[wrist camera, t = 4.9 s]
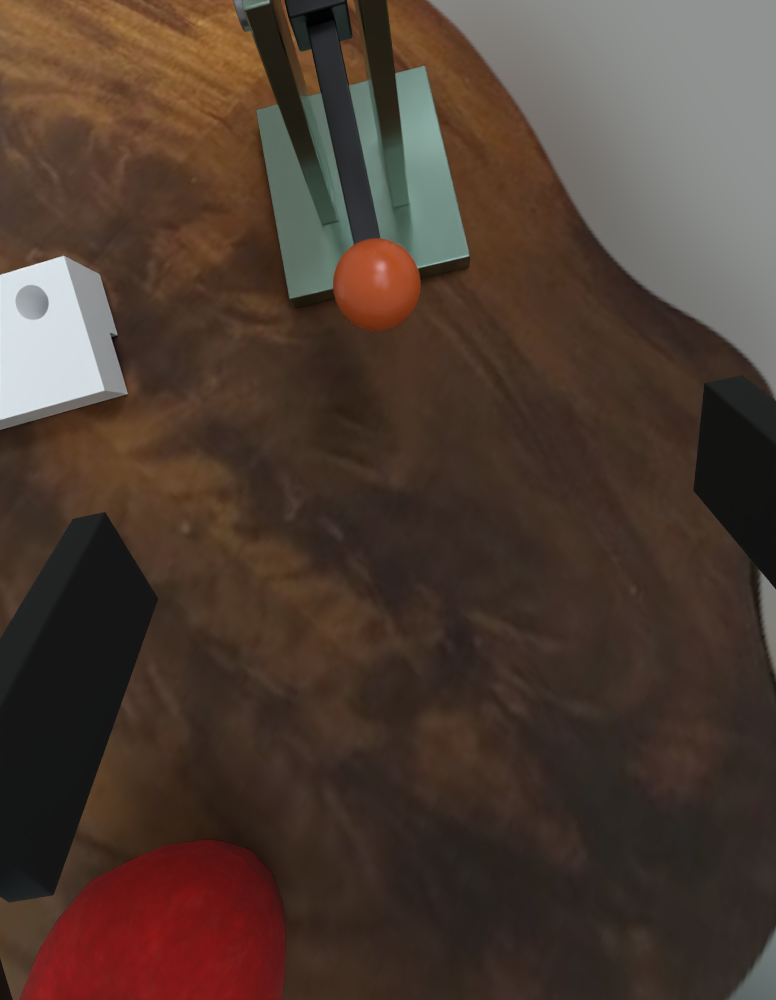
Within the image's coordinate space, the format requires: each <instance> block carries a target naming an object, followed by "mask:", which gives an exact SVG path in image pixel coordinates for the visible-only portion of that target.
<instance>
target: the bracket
mask: <svg viewBox="0 0 776 1000" xmlns="http://www.w3.org/2000/svg"><path fill="white" fill-rule="evenodd" d="M117 335H118V334H117V331H116V328H115V324H114V321H113V317H112V314H111V311H110V307H109V304H108V301H107V297H106V294H105V291H104V287H103V284H102V281H101V277H100V274H98V273H96V272H94V271H92V270H90V269H88V268H86V267H84V266H83V265H81V264H79V263H77V262H75V261H73V260H71V259H69V258H67V257H65V256H62V257H59V258H55V259H52V260H49V261H45V262H42V263H39V264H35V265H32V266H29V267H25V268H22V269H19V270H15V271H12V272H9V273H5V274H2V275H0V430H2V429H5V428H9V427H12V426H16V425H19V424H23V423H26V422H30V421H34V420H37V419H41V418H44V417H48V416H51V415H55V414H59V413H62V412H66V411H69V410H73V409H76V408H80V407H84V406H87V405H91V404H94V403H98V402H101V401H105V400H109V399H112V398H116V397H119V396H123V395H126V394H128V392H127V389H126V385H125V382H124V379H123V375H122V372H121V369H120V365H119V362H118V359H117V355H116V352H115V349H114V345H113V342H112V339H111V337H114V336H117Z"/></svg>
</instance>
